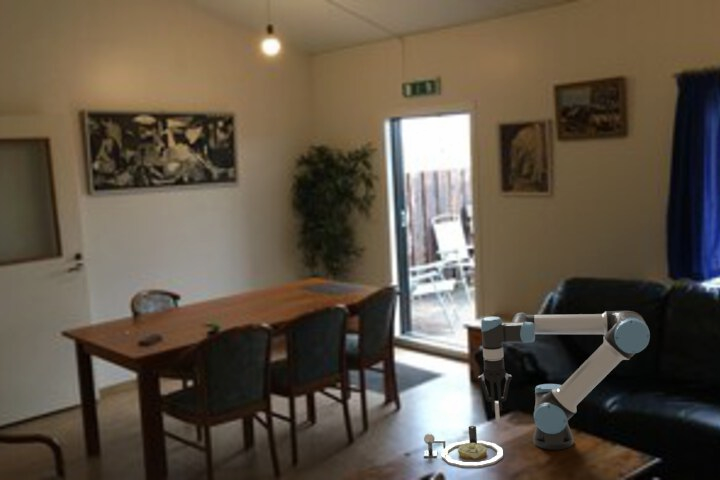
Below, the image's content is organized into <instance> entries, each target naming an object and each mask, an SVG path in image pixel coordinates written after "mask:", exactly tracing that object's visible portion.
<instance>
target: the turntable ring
mask: <svg viewBox="0 0 720 480" xmlns="http://www.w3.org/2000/svg"><path fill="white" fill-rule="evenodd" d="M468 438H469V439H468V440H463V441H459V442H455V443H451V444H449V445H448V446H445V447H446V449H444V448H443V449H442V452H441V459H442V460H443V461H445V462H446V463H447V464H448V465H451V466H456V467H458V468H459V467H460V468H483V467H486V466H490V465H491V466H492V465H495V464H496V463H499V462H500V461H501V460H502V459H503V458H504V451H503V450H504V449H503V448H502V447H501V446H499V445H497V444H496V443H494V442H490V441H484V440H478V436H477V426H475V425H469V426H468ZM466 443H477V444H481V445H483V446H484V447H485V448H491V449H492V450H494V451H495V452H496V455H495V456H493V457H492V458H491V459H488V460H483V461H480V462H464V461H460V460H455V459H453V458H452V457H450V456H449V453H450V452H451V451H452V450H454V449H456V448H459V447H460V446H461V445H463V444H466Z"/></svg>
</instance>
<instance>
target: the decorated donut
mask: <svg viewBox="0 0 720 480" xmlns="http://www.w3.org/2000/svg"><path fill="white" fill-rule="evenodd" d="M457 448H458V449H457V452H458V455H459V457H461V458H462V459H464V460H469V461H473V460H481V459H484V458H486V457H487V451H488V449H487V447H486V446H483V445H481V444H477V443H466V444H463V445H461V446H460V447H457Z"/></svg>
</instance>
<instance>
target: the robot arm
mask: <svg viewBox="0 0 720 480" xmlns="http://www.w3.org/2000/svg"><path fill="white" fill-rule="evenodd" d="M480 324H481V342H482V357H483V372H482V374H481V375H478V376H477V380H478V382H479V383H480V384H481V387H482V391H483V393H484V397H485V400H486V402H490V403H491V410H492V412H494V413H495V420H496V421H500V420H501V416H500V411H502V410H503V402H507V399H508V394H509V389H510V382H512V379H513V376H512V374H508V373H507V372H506V370H505V360H504V357H505V356H504V344H505V343H507V344H509V343H510V344H511V343H512V344H513V343H514V344H515V343H518V344H522V343H523V344H527V343H534V342H535V340H536V335H602V336H603V342H602V343H601V344H600V346H599V347H598V348H597V349H596V350H595V351H594V352H593V353H592V354H591V355H590V356H589V357H588V358H587V359H586V360H585V361H584V362H583V363H582V364H581V365H580V366H579V368H577V369H576V370H575V371H574V373H572V374H571V376H569V378H567V380H565V382H564V383H563V384H557V383H543V384H542V383H541V384H538V385H536V386H535V388H534V391H535V392H534V394H535V405H534V411H533V420H534V423H535V425H536V427H535V430H534V433H533V438H532V439H533V443H534V446H536V447H538V448H541V449H545V450H550V451H553V450H554V451H557V450H558V451H559V450H564V449H568V448H570V447H572V446H573V445H574V443H575V442H574V436H573V433H572V431H571V428H570V426H569V420H570V419H571V418H572V417H573V416H575V414H576V413H577V406H578V405H579V404H580V403H581V402H582V401H583V400H584V398H586V397H587V396H588V395H589V394H590V393H591V392H592V390H593V389H595V388H596V386H597V385H599V384H600V383H601V382H602V381H603V380H604V379H605V378H606V377H607V375H609V374H610V373H611V371H613V369H615V368H616V367H617V366H618V365H619V364H620V363H621V362H622V361H624V360H625V361H627V360H628V361H629V360H630V359H631V358H632V357H633V356H634V355H636V354H638V353H640V352H642V351H643V350H645V349H646V348H647V346H648V345H649V343H650V338H651V333H650V330H649V327H648V325H647V322H646V321H645V319H644V317H643V316H642V315H641V314H639V313H638V312H635V311H633V310H632V311H631V310H613V311H611V310H607V311H606V310H605V311H604V312H603V313H595V314H594V313H593V314H591V313H589V314H587V313H586V314H585V313H584V314H583V313H579V314H527V313H525V312H518V313H516V314H515V315H514V316H513V317H512V319H511V321H510V322H504V321H503V320H502V318H501V317H499V316H486V317H484V318H482V319H481V322H480ZM504 378H505V384H504V390H503V394H502V389H501V388H502V386H501V382H502V381H503V380H504ZM485 379H486V380H487V381H488V382H489V384H490V394H489V391H488V388H487V385H486V383H485ZM494 383H496V386H497V387H496V388H497V400H495V387H494V386H495V385H494ZM489 395H490V396H489ZM502 395H503V396H502Z"/></svg>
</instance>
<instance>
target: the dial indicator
mask: <svg viewBox="0 0 720 480" xmlns="http://www.w3.org/2000/svg"><path fill="white" fill-rule="evenodd" d="M423 441H424V443H425V444H427V446H428V447H427V450H424V453H423V458H424V459H425V458H426V459H428V458H431V459H432V458H435V459H436V458H438V453H439V451H438V450H437V449H436V450H435V449H433V444H442V446H443V449H446V447H447V446H446V439H435V436H434V435H433V434H432V433H427V434H425V435H424V437H423Z"/></svg>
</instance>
